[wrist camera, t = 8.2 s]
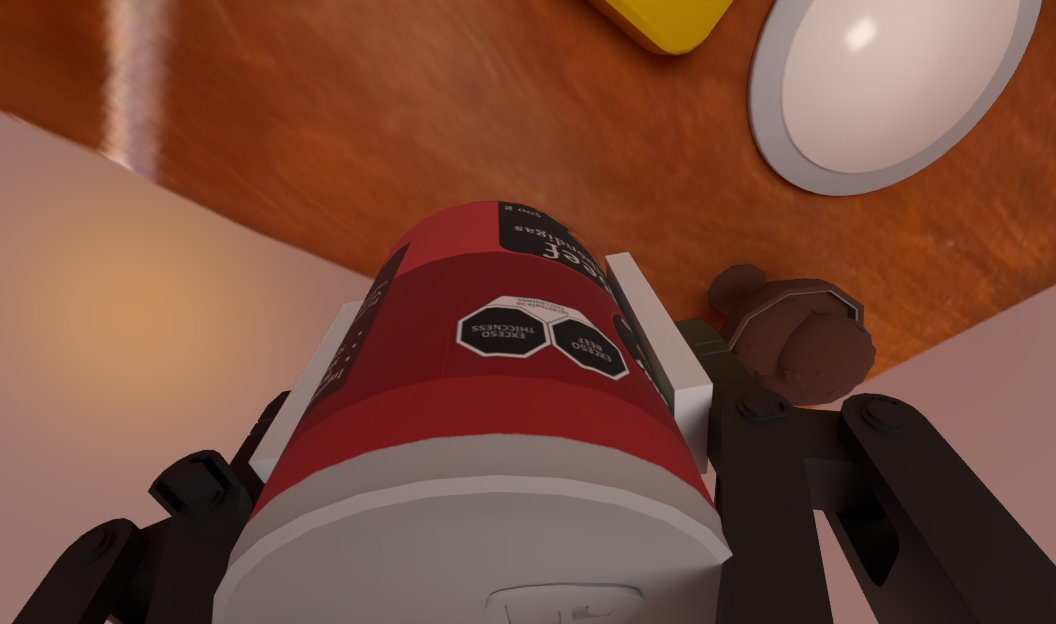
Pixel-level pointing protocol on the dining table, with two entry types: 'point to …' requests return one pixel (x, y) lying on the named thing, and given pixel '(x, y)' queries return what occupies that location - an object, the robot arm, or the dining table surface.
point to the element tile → (664, 21)
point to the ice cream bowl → (794, 334)
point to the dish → (877, 84)
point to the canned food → (483, 453)
